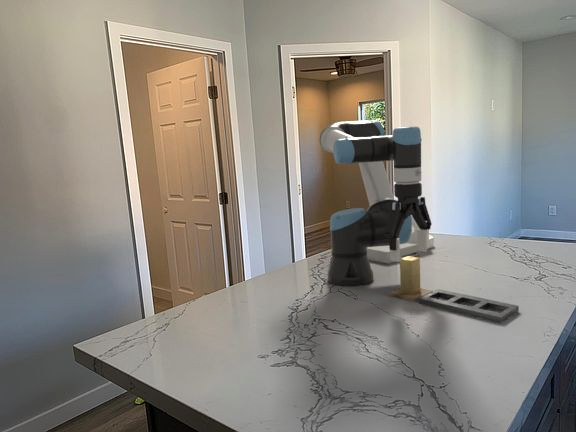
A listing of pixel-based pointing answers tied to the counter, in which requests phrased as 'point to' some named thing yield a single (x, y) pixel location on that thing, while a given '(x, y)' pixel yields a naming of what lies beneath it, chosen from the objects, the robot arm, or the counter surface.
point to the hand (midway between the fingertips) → (409, 255)
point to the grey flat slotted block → (474, 311)
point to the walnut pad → (408, 296)
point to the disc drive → (384, 252)
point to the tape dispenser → (414, 235)
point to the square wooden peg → (410, 275)
